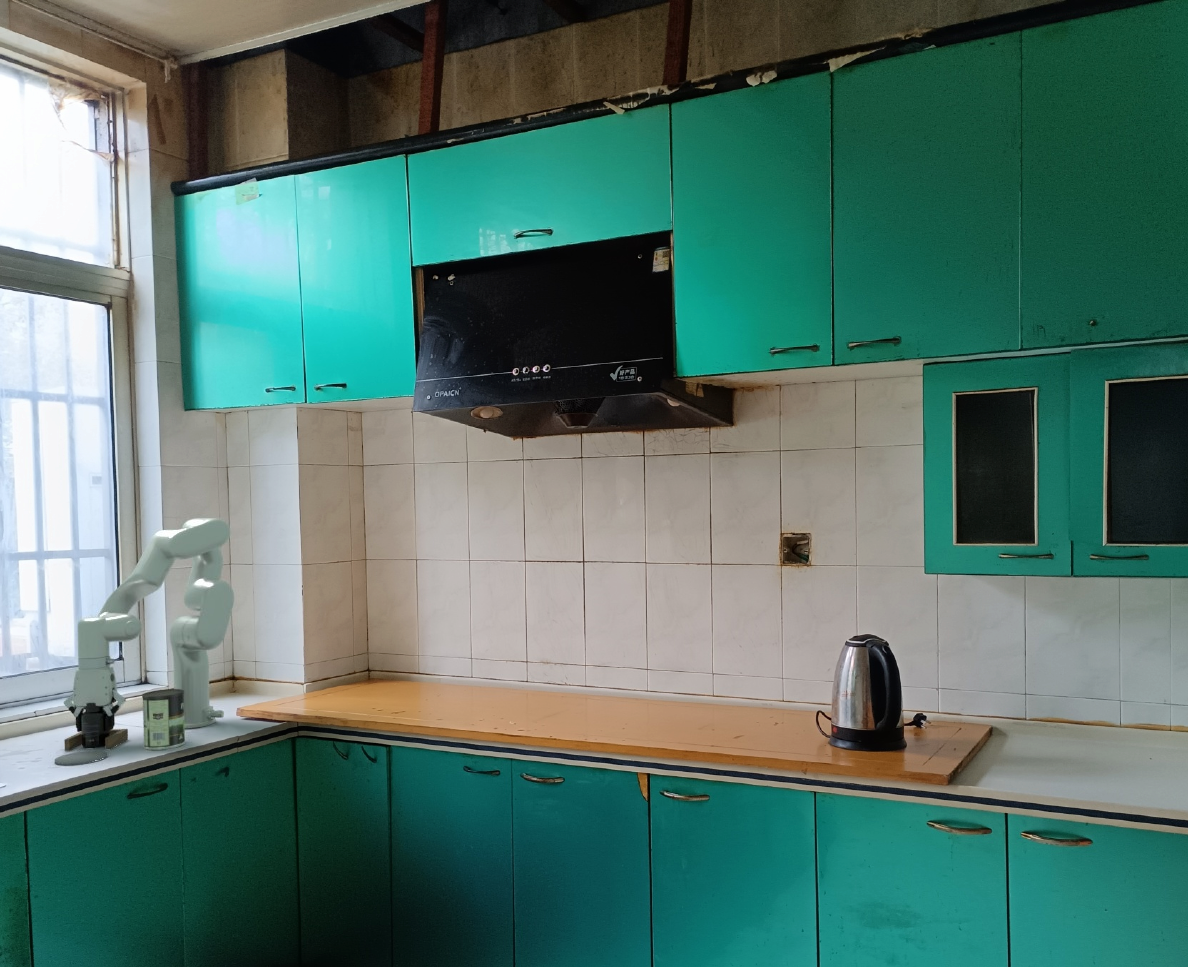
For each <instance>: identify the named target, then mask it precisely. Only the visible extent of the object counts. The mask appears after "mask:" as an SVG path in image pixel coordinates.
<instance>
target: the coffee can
mask: <svg viewBox="0 0 1188 967" xmlns="http://www.w3.org/2000/svg"><path fill="white" fill-rule="evenodd" d="M141 696H142V716H143V717H142V718H143V722H142V723H143V725H142V726H143V749H144V748H145V749H144V750H147V749H148V750H149V751H159V750H160V751H161V750H162V749H163V750H170V749H175V748H179V747H181V746H184V745H185V744H186V741H185V740H186V737H185V736H186V734H185V731H186V730H185V729H184V690H181V689H174V688H168V689H167V688H165V689H159V690H158V689H156V690H151V691H148V692H145V693H142V694H141ZM169 748H170V749H169Z"/></svg>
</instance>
